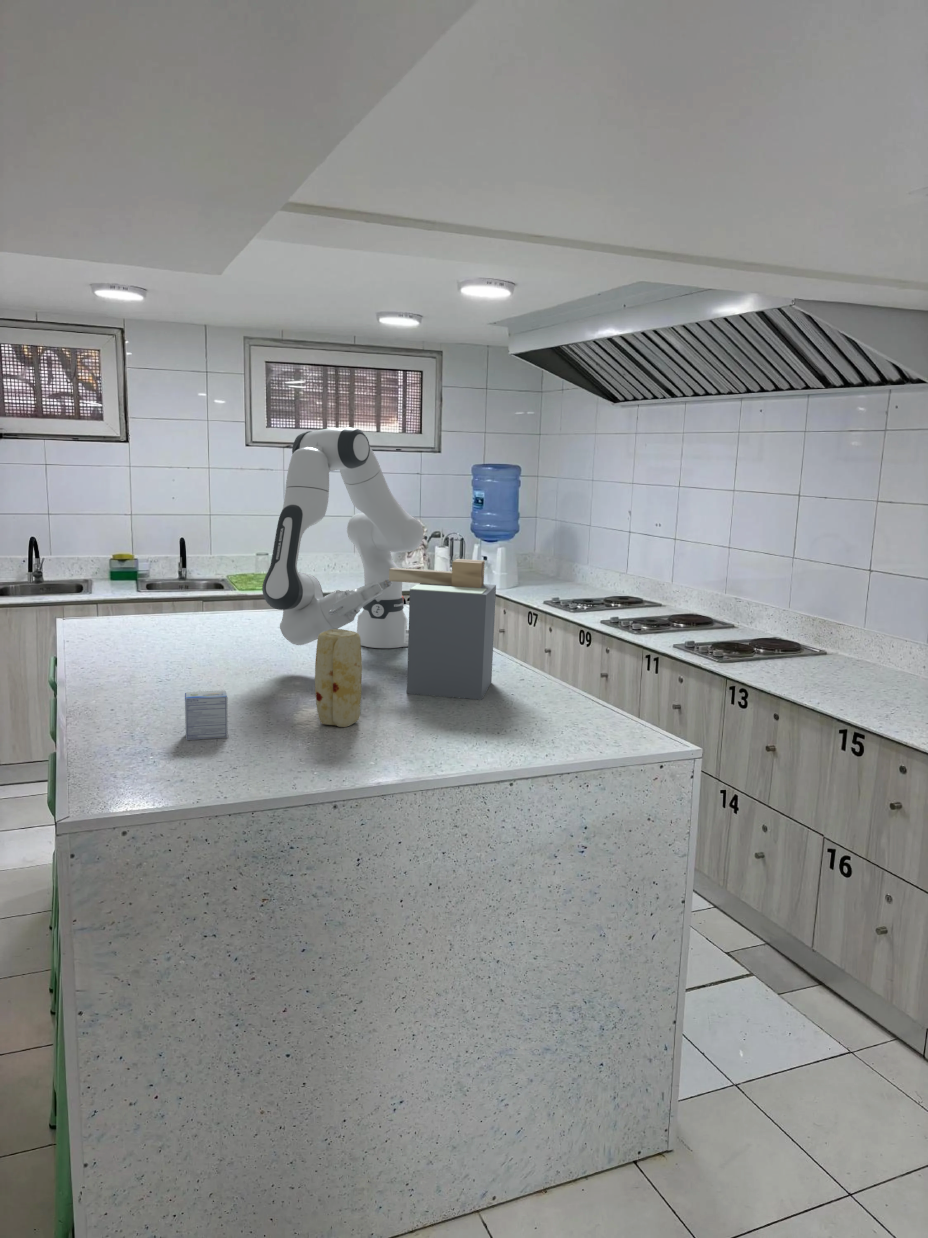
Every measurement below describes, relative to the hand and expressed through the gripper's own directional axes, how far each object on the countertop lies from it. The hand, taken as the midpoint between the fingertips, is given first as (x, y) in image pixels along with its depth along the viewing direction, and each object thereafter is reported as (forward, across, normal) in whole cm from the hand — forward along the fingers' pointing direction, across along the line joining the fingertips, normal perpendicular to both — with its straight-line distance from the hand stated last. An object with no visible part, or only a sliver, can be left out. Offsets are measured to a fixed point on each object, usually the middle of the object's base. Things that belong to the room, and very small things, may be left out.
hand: (386, 584), depth 219 cm
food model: (-11, -41, +21) cm, 48 cm away
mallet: (+12, 0, +6) cm, 13 cm away
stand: (+4, -5, +30) cm, 30 cm away
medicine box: (-30, -56, +10) cm, 65 cm away
